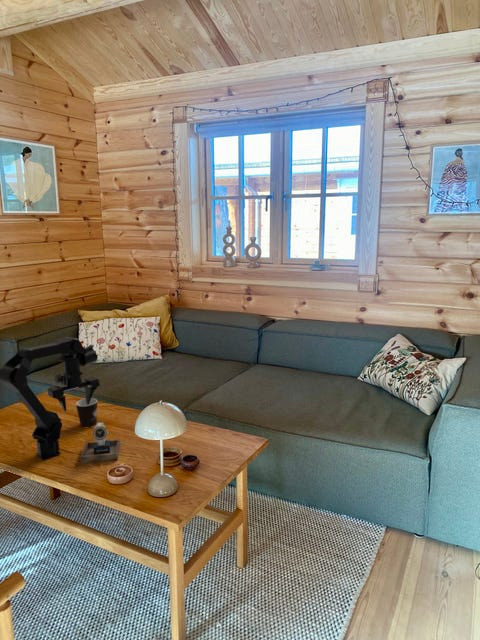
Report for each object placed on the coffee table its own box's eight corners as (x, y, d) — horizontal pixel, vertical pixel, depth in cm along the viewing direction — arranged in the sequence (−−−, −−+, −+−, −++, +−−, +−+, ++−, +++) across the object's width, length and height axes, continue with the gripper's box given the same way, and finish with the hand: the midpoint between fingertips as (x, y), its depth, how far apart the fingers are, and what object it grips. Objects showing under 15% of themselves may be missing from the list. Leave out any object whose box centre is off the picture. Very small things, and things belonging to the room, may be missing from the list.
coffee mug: (86, 430, 192) (83, 407, 190) (73, 425, 197) (71, 403, 195) (109, 420, 201) (107, 398, 199) (97, 416, 206) (95, 394, 204)
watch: (94, 458, 168) (91, 429, 165) (95, 447, 175) (92, 420, 173) (110, 456, 169) (107, 427, 167) (110, 445, 177) (108, 418, 174)
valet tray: (81, 463, 166) (80, 457, 165) (86, 448, 177) (85, 442, 176) (117, 460, 168) (116, 453, 167) (120, 445, 179) (120, 438, 178)
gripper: (86, 360, 191) (89, 396, 194) (39, 370, 178) (44, 409, 182) (99, 365, 183) (102, 403, 186) (51, 377, 171) (56, 417, 174)
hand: (76, 407), depth 182 cm, fingers open, 9 cm apart
